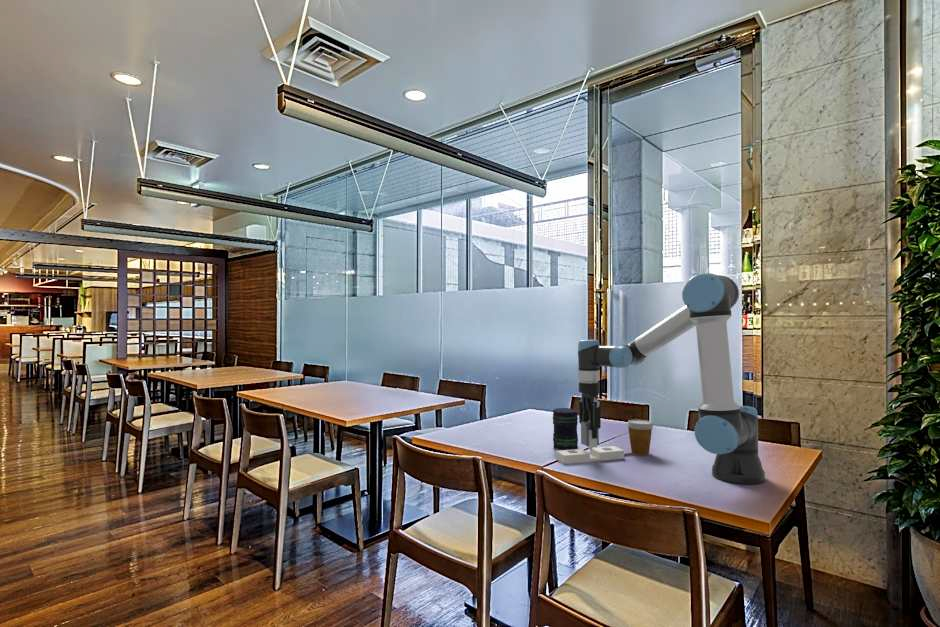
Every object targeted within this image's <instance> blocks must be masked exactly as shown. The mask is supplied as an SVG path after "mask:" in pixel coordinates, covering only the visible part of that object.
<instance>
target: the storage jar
mask: <svg viewBox="0 0 940 627" xmlns="http://www.w3.org/2000/svg"><path fill="white" fill-rule="evenodd" d="M578 419H579V416H578V409H576V408H575V409H574V408H569V407H568V408H567V407H559V408H558V407H557V408H553V409H552V424H553V434H552V435H553V437H552V441H553V442H552V444H553V447H552V448H553V449H555V450H556V451H560V450H572V449H579V448H578V447H579V446H578V444H579V436H578V424H579V420H578Z"/></svg>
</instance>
